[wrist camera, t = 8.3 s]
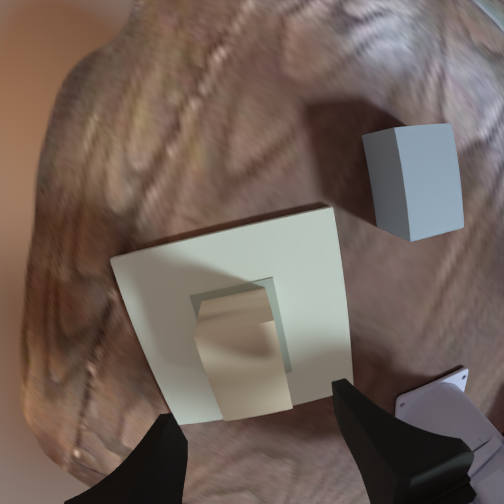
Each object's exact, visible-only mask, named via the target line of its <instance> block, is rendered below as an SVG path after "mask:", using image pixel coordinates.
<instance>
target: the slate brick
mask: <svg viewBox="0 0 504 504" xmlns="http://www.w3.org/2000/svg"><path fill="white" fill-rule="evenodd" d="M362 140H363V145H364V150H365V155H366V160H367V166H368V171H369V177H370V183H371V189H372V195H373V202H374V209H375V216H376V223H377V227H378V228H380V229H382V230H385V231H387V232H389V233H392V234H394V235H396V236H398V237H401V238H403V239H405V240H408V241H410V242H412V241H416V240H420V239H423V238H427V237H431V236H435V235H438V234H442V233H446V232H449V231H453V230H456V229H460V228H464V218H463V204H462V192H461V183H460V174H459V167H458V159H457V153H456V147H455V141H454V135H453V130H452V125H451V123H448V124H431V125H417V126H405V127H395V128H390V129H386V130H381V131H377V132H373V133H369V134H365V135H362Z"/></svg>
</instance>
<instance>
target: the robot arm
mask: <svg viewBox="0 0 504 504" xmlns="http://www.w3.org/2000/svg"><path fill="white" fill-rule="evenodd" d="M467 375H468V369H467V368H466V367H463V368H461V369H459V370H457V371H455V372H453V373H451V374H449V375H447V376H445V377H442V378H440V379H438V380H436V381H434V382H431V383H429V384H427V385H424V386H422V387H420V388H417V389H415V390H412V391H410V392H408V393H405V394H402V395H400V396H399V397H398V398H397V399H396V408H395V417H394V416H393V415H391V414H389V413H388V412H386V411H385V410H383V409H382V408H380V407H379V406H377V405H376V404H375V403H373V402H372V401H371V400H369V399H368V398H367V397H366V396H364V395H363V394H362V393H361V392H360V391H359V390H357V389H356V388H355V387H354V386H353V385H352V384H351V383H350V382H349V381H348V380H347V379H345V378H343V379H340V380H336V381H333V382H331V384H332V393H333V402H334V412H335V416H336V419H337V422H338V425H339V428H340V431H341V433H342V435H343V437H344V439H345V441H346V443H347V445H348V447H349V449H350V451H351V453H352V455H353V458H354V460H355V462H356V464H357V466H358V468H359V470H360V473H361V475H362V478H363V481H364V484H365V487H366V490H367V493H368V497H369V500H370V503H371V504H504V437H503V436H502V435H501V434H500V433H499V431H498V430H497V429H496V428H495V427H494V426H493V425H492V423H491V422H490V421H489V420H488V419H487V418H486V417H485V415H484V414H483V413H482V412H481V411H480V410H479V409H478V408H477V407H476V405H475V404H474V403H473V402H472V401H471V400H470V399H469V398H468V397H467V395H466V394H465V393H464V389H465V385H466V380H467ZM187 460H188V441H187V439H186V438H185V436H184V434H183V432H182V430H181V428H180V426H179V425H178V423H177V421H176V419H175V417H174V415H173V413H168V414H160V415H159V417H158V418H157V419H156V421H155V422H154V424H153V425H152V426H151V428H150V429H149V431H148V432H147V433H146V435H145V436H144V437H143V439H142V440H141V441H140V443H139V444H138V445H137V446H136V448H135V449H134V450H133V451H132V452H131V454H130V455H129V456H128V457H127V458H126V459H125V460H124V461H123V462H122V463H121V464H120V465H119V466H118V467H117V468H116V469H115V470H114V471H113V472H112V473H111V474H109V475H108V476H107V477H106V478H104V479H103V480H102V481H100V482H99V483H98V484H96V485H95V486H93V487H92V488H90V489H88V490H87V491H85V492H83V493H81V494H80V495H78V496H75V497H73V498H71V499H69V500H67V501H65V502H64V504H182V496H183V489H184V482H185V475H186V468H187Z"/></svg>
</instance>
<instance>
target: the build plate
mask: <svg viewBox="0 0 504 504" xmlns="http://www.w3.org/2000/svg"><path fill="white" fill-rule="evenodd" d="M110 262H111V265H112V268H113V271H114V274H115V277H116V280H117V283H118V286H119V289H120V292H121V295H122V297H123V300H124V303H125V306H126V308H127V311H128V314H129V316H130V319H131V322H132V324H133V327H134V329H135V332H136V334H137V337H138V339H139V342H140V344H141V346H142V349H143V351H144V354H145V356H146V358H147V360H148V363H149V365H150V367H151V370H152V372H153V374H154V376H155V378H156V381H157V383H158V385H159V387H160V389H161V391H162V393H163V395H164V397H165V400H166V402H167V404H168V406H169V408H170V410H171V412H172V413H173V415H174V417H175V419H176V421H177V423H178V425H182V424H191V423H200V422H207V421H215V420H221V419H223V416H222V414H221V411H220V409H219V406H218V404H217V401H216V398H215V396H214V393H213V390H212V388H211V385H210V382H209V380H208V377H207V374H206V372H205V369H204V366H203V363H202V360H201V358H200V355H199V352H198V349H197V346H196V343H195V340H194V337H193V336H194V332H195V327H196V323H197V319H198V314H199V310H200V306H201V301H205V300H210V299H215V298H220V297H224V296H229V295H234V294H238V293H243V292H247V291H252V290H256V289H261V288H266V292H267V296H268V299H269V303H270V307H271V310H272V314H273V318H274V322H275V326H276V331H277V336H278V340H279V345H280V350H281V355H282V359H283V364H284V369H285V374H286V378H287V383H288V388H289V393H290V398H291V402H292V406H294V405H298V404H302V403H306V402H310V401H314V400H318V399H321V398H325V397H329V396H332V395H333V393H332V384H331V382H333V381H336V380H340V379H343V378H345V379H347V380H348V381H349V382H350V383H351V384H352V385H353V369H352V355H351V343H350V332H349V321H348V312H347V302H346V294H345V285H344V278H343V270H342V263H341V255H340V249H339V242H338V235H337V229H336V223H335V217H334V211H333V207H331V206H328V207H323V208H318V209H313V210H309V211H304V212H300V213H295V214H290V215H286V216H281V217H277V218H272V219H268V220H263V221H259V222H254V223H250V224H246V225H241V226H237V227H233V228H228V229H224V230H220V231H216V232H211V233H207V234H203V235H199V236H195V237H190V238H186V239H182V240H178V241H174V242H170V243H166V244H162V245H158V246H154V247H150V248H146V249H142V250H138V251H134V252H130V253H126V254H122V255H118V256H114V257H112V258H111V259H110ZM353 386H354V385H353Z"/></svg>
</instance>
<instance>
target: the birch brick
mask: <svg viewBox="0 0 504 504" xmlns="http://www.w3.org/2000/svg"><path fill="white" fill-rule="evenodd" d="M193 337H194V340H195V343H196V346H197V349H198V352H199V355H200V358H201V360H202V363H203V366H204V369H205V372H206V374H207V377H208V380H209V382H210V385H211V388H212V390H213V393H214V396H215V398H216V401H217V404H218V406H219V409H220V411H221V414H222V416H223V419H224V421H232V420H238V419H244V418H249V417H255V416H260V415H265V414H270V413H275V412H280V411H284V410H289V409H293V407H292V402H291V398H290V393H289V388H288V383H287V378H286V374H285V369H284V364H283V359H282V355H281V350H280V345H279V340H278V336H277V331H276V326H275V322H274V318H273V314H272V310H271V307H270V303H269V299H268V296H267V292H266V288H261V289H256V290H252V291H247V292H243V293H238V294H234V295H229V296H224V297H220V298H215V299H210V300H205V301H201V306H200V310H199V314H198V319H197V323H196V327H195V332H194V336H193Z"/></svg>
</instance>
